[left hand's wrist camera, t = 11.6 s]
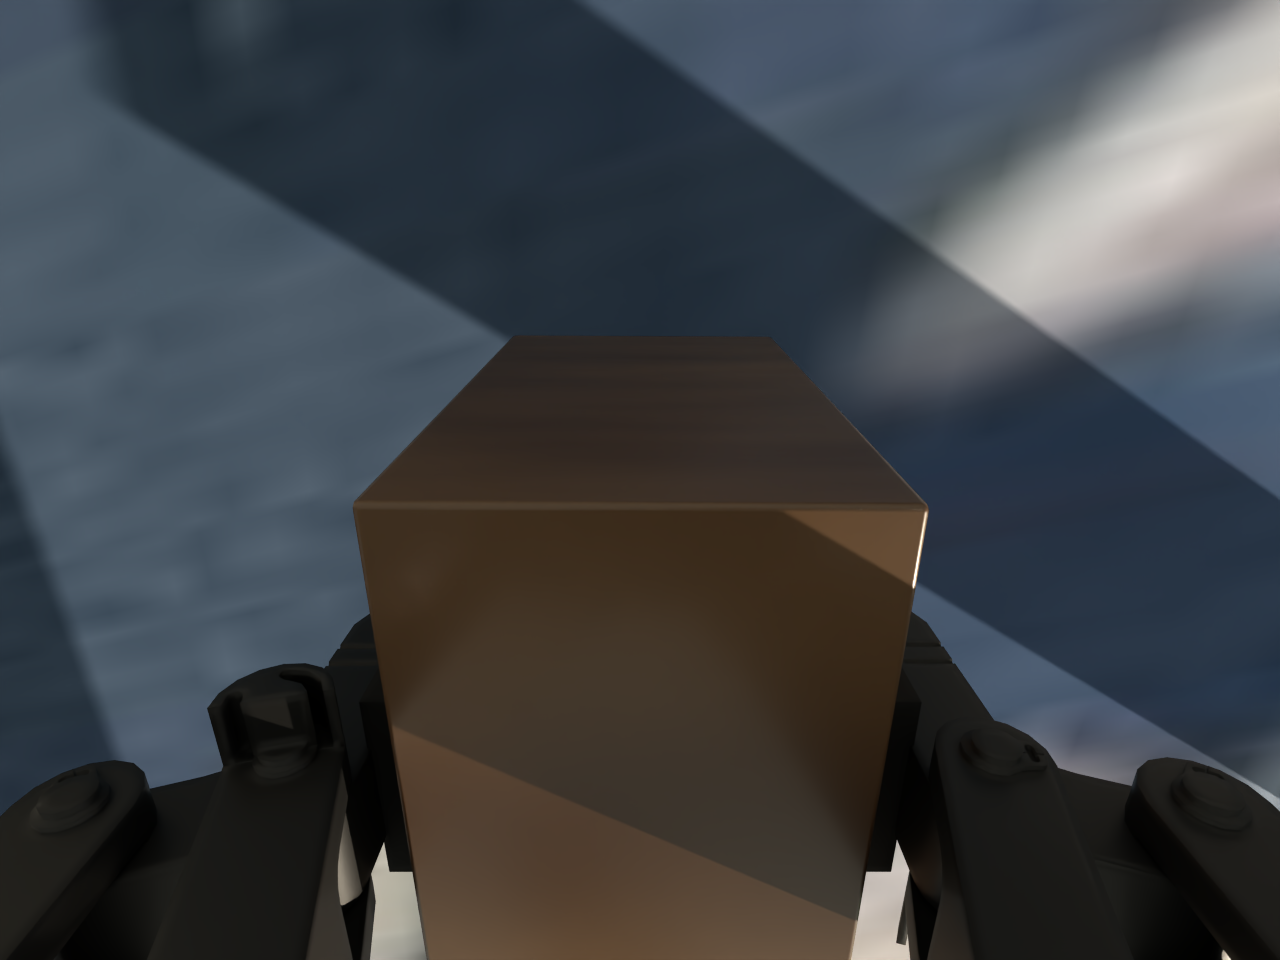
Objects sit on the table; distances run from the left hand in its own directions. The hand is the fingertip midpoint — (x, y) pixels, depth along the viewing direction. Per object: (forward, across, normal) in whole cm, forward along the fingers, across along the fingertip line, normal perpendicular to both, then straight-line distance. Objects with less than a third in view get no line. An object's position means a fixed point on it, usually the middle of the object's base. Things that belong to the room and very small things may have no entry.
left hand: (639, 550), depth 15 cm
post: (+1, 0, -24) cm, 24 cm away
